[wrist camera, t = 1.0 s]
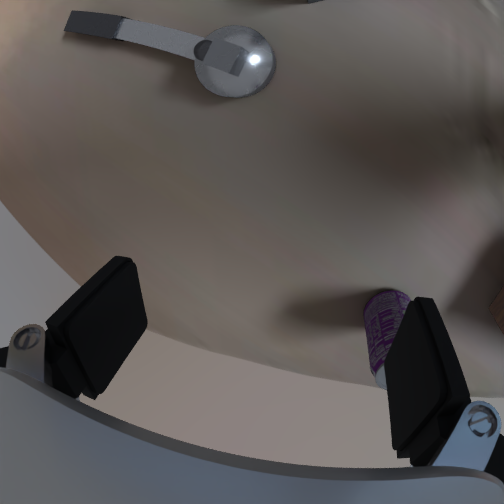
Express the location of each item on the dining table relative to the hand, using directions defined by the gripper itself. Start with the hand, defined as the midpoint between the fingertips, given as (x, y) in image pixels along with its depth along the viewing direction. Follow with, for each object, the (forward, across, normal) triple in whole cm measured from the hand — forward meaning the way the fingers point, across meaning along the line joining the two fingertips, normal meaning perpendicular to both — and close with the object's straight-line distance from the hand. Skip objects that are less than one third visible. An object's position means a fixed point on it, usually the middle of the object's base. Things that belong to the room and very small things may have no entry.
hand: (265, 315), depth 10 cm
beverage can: (+26, -14, +18) cm, 34 cm away
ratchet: (+25, +18, -15) cm, 35 cm away
